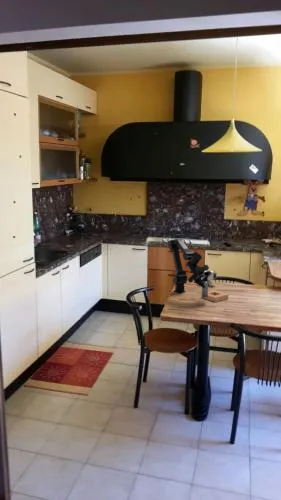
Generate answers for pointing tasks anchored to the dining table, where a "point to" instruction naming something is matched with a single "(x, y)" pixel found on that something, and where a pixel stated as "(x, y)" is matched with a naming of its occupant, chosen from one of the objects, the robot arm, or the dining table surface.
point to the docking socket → (216, 296)
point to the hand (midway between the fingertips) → (206, 287)
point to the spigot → (205, 289)
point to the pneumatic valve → (211, 277)
